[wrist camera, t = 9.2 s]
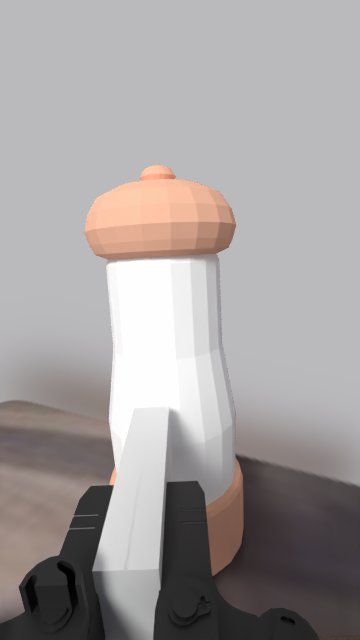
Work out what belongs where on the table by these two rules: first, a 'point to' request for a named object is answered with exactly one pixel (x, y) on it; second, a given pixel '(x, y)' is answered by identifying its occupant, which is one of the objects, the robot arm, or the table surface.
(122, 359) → the salt shaker
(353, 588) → the table surface
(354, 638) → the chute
